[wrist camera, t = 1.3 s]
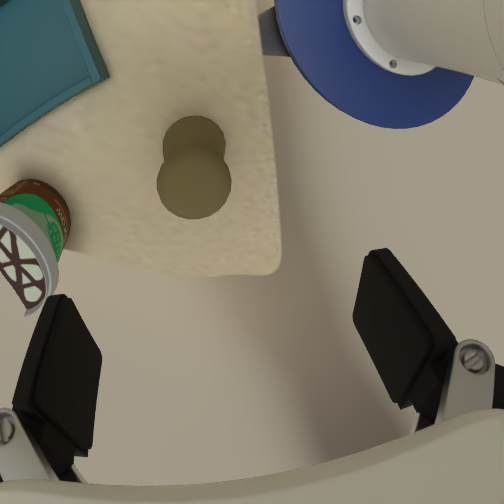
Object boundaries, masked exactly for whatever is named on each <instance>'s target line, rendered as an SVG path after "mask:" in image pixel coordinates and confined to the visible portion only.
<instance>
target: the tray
mask: <svg viewBox="0 0 504 504" xmlns="http://www.w3.org/2000/svg"><path fill="white" fill-rule="evenodd" d="M109 77H110V76H109V73H108V71H107V68H106V66H105V64H104V61H103V59H102V56H101V54H100V52H99V49H98V47H97V44H96V42H95V39H94V37H93V34H92V32H91V29H90V27H89V24H88V21H87V19H86V16H85V14H84V11H83V8H82V6H81V3H80V0H0V147H1V146H2V145H3V144H5V143H6V142H7V141H9V140H10V139H11V138H13V137H14V136H15V135H17V134H18V133H19V132H21V131H22V130H23V129H25V128H26V127H28V126H29V125H30V124H32V123H33V122H35V121H36V120H38V119H39V118H41V117H42V116H44V115H45V114H47V113H48V112H50V111H51V110H53V109H55V108H56V107H58V106H59V105H61V104H63V103H64V102H66V101H67V100H69V99H71V98H72V97H74V96H76V95H78V94H79V93H81V92H83V91H85V90H86V89H88V88H90V87H92V86H94V85H95V84H97V83H99V82H101V81H103V80H105V79H107V78H109Z"/></svg>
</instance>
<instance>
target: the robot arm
mask: <svg viewBox="0 0 504 504" xmlns="http://www.w3.org/2000/svg"><path fill="white" fill-rule="evenodd" d="M343 14H344V18H345V22H346V25H347V28H348V30H349V32H350V35H351V37H352V38H353V40H354V42H355V43H356V45H357V46H358V48H359V49H360V50H361V51H362V52H363V53H364V55H365V56H366V57H368V58H369V59H370V60H371V61H372V62H373V63H375V64H376V65H378V66H380V67H381V68H383V69H385V70H388V71H390V72H393V73H397V74H401V75H411V76H413V75H420V74H424V73H426V72H429V71H431V70H432V69H433V68H435V67H436V66H437V67H441V68H446V69H450V70H454V71H458V72H462V73H466V74H469V75H473V76H476V77H480V78H483V79H487V80H490V81H493V82H496V83H499V84H502V85H504V0H343ZM353 18H354V19H355V22H353ZM389 63H390V65H389ZM353 322H354V325H355V327H356V329H357V331H358V333H359V334H360V336H361V339H362V341H363V343H364V344H365V347H366V348H367V351H368V353H369V355H370V357H371V359H372V361H373V363H374V365H375V367H376V369H377V370H378V373H379V375H380V377H381V379H382V381H383V383H384V385H385V387H386V390H387V391H388V394H389V396H390V398H391V400H392V401H393V402H394V403H398V406H399V407H400V409H403V408H406V407H409V406H411V405H413V406H414V408H415V410H416V416H415V419H414V422H413V426H412V429H411V432H410V434H409V435H407V436H405V437H402V438H399V439H396V440H393V441H391V442H388V443H385V444H382V445H379V446H377V447H374V448H371V449H368V450H365V451H362V452H359V453H356V454H352V455H349V456H346V457H342V458H339V459H336V460H332V461H328V462H325V463H320V464H316V465H312V466H308V467H304V468H300V469H296V470H291V471H286V472H281V473H276V474H270V475H265V476H259V477H253V478H247V479H240V480H231V481H223V482H214V483H203V484H190V485H171V486H123V485H102V484H88V483H87V482H86V480H85V479H84V478H83V476H82V475H81V473H80V472H79V471H78V469H77V468H76V466H75V465H74V456H81V457H88V449H91V447H92V443H93V431H94V420H95V411H96V401H97V394H98V386H99V379H100V372H101V365H102V355H101V351H100V349H99V348H98V346H97V344H96V343H95V341H94V339H93V337H92V336H91V334H90V332H89V331H88V329H87V327H86V325H85V323H84V321H83V320H82V318H81V316H80V314H79V312H78V310H77V308H76V306H75V304H74V302H73V301H72V299H71V298H68V297H67V296H66V295H65V294H59V295H51V296H48V297H47V299H46V301H45V303H44V306H43V309H42V311H41V314H40V316H39V319H38V322H37V324H36V327H35V330H34V332H33V335H32V338H31V341H30V344H29V347H28V350H27V353H26V356H25V359H24V362H23V365H22V369H21V372H20V375H19V379H18V382H17V386H16V389H15V393H14V397H13V401H12V404H13V408H12V410H11V409H9V408H0V504H504V367H503V366H500V365H498V364H495V360H494V356H493V354H492V352H491V350H490V349H489V348H488V347H487V346H486V345H485V344H484V343H482V342H480V341H478V340H473V339H467V340H464V341H462V342H460V343H459V344H458V342H457V341H456V338H455V336H454V335H453V333H452V332H451V330H450V329H449V328H448V326H447V325H446V323H445V322H444V320H443V319H442V318H441V316H440V315H439V313H438V312H437V311H436V309H435V308H434V307H433V305H432V304H431V302H430V301H429V300H428V298H427V297H426V296H425V294H424V293H423V292H422V290H421V289H420V288H419V287H418V285H417V284H416V283H415V281H414V280H413V279H412V277H411V276H410V275H409V274H408V272H407V271H406V270H405V269H404V267H403V266H402V265H401V264H400V262H399V261H398V260H397V259H396V257H395V256H394V255H393V254H392V252H391V251H390V250H389V249H387V248H383V249H377V250H371V251H370V252H369V254H368V256H365V258H364V262H363V268H362V273H361V278H360V283H359V288H358V292H357V297H356V302H355V306H354V311H353Z"/></svg>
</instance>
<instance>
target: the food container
mask: <svg viewBox="0 0 504 504" xmlns="http://www.w3.org/2000/svg"><path fill="white" fill-rule="evenodd" d="M70 224H71V220H70V213H69V210H68V207H67V205H66V203H65V201H64V199H63V198H62V196H61V195H60V194H59V193H58V192H57V191H56V190H55V189H54V188H53V187H51V186H50V185H48V184H46V183H44V182H42V181H38V180H33V179H27V180H22V181H18V182H17V183H15V184H14V185H12V186H11V187H10V188H8V189H7V190H5V191H4V192H3V193H1V194H0V271H1V272H2V274H3V276H4V277H5V278H6V279H7V281H8V282H9V283H10V284H11V286H12V287H13V289H14V290H15V291H16V293H17V294H18V296H19V297H20V299H21V301H22V302H23V304H24V305H25V307H26V308H27V310H26V312H25V315H24V317H27V316H30V315H32V314H34V313H36V312H37V311H38V310H40V309H41V308H42V307H43V306H44V303H45V301H46V299H47V297H48V296H51V295H53V293H54V291H55V289H56V287H57V283H58V275H59V271H58V262H59V259H60V256H61V253H62V250H63V248H64V245H65V242H66V240H67V237H68V234H69V230H70Z"/></svg>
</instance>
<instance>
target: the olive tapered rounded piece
mask: <svg viewBox="0 0 504 504" xmlns="http://www.w3.org/2000/svg"><path fill="white" fill-rule="evenodd" d="M224 153H225V138H224V134H223V132H222V131H221V129H220V128H219V126H218V125H217V124H215V123H214V122H213V121H212V120H210V119H207V118H205V117H202V116H189V117H186V118H182V119H180V120H178V121H177V122H175V123H174V124H172V126H171V127H170V128H169V129H168V131H167V132H166V135H165V137H164V140H163V155H164V163H163V164H162V165H161V168H160V171H159V174H158V177H157V191H158V193H159V196H160V199H161V201H162V203H163V204H164V206H165V207H166V208H167V209H168V210H169V211H170V212H172V213H173V214H175V215H176V216H179V217H182V218H186V219H201V218H204V217H208V216H210V215H212V214H213V213H215V212H217V211H218V210H219V209H220V208H221V207H222V206H223V205H224V204H225V202H226V200H227V198H228V195H229V193H230V190H231V176H230V172H229V168H228V166H227V164H226V163H225V161H224Z"/></svg>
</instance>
